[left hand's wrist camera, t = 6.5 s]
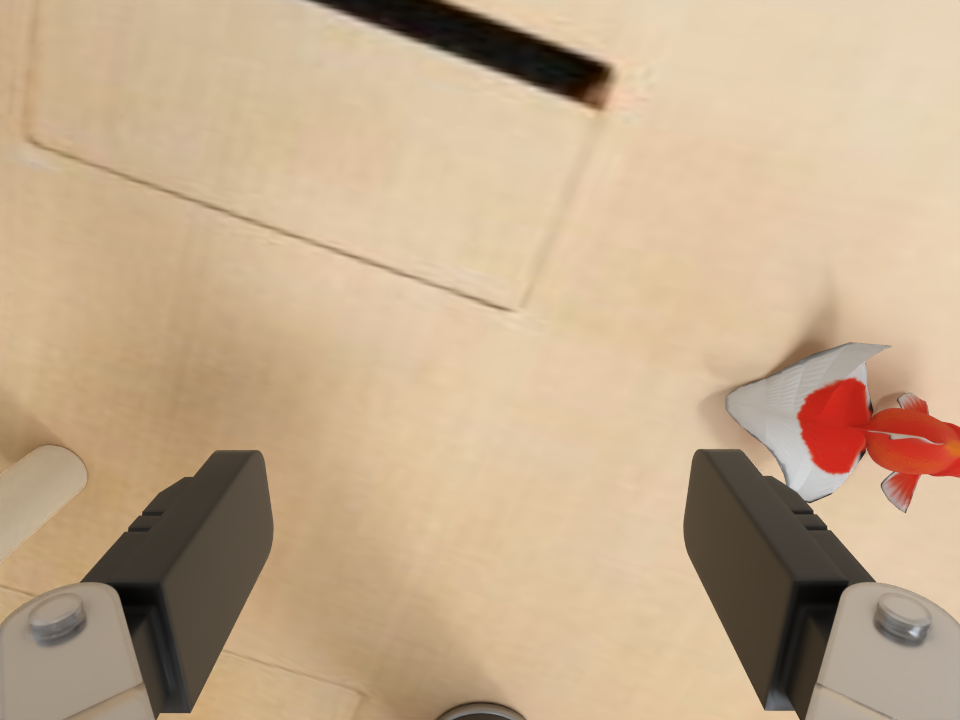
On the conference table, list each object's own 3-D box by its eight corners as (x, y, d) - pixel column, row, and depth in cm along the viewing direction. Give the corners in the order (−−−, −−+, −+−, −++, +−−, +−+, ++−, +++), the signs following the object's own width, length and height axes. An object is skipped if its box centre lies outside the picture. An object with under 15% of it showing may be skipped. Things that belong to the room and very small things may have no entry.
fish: (898, 564, 42) (980, 596, 32) (689, 445, 46) (707, 443, 37) (975, 430, 42) (1080, 422, 32) (760, 324, 46) (796, 290, 37)
